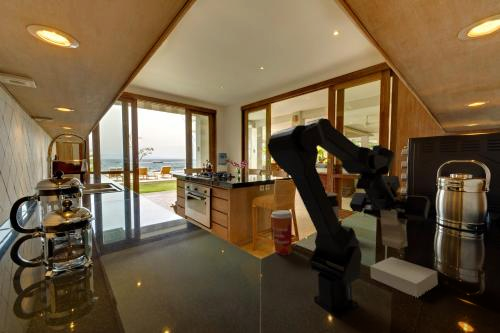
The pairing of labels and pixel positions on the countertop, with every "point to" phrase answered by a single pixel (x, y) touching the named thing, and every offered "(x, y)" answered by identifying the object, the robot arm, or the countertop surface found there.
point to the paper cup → (282, 231)
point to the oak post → (393, 229)
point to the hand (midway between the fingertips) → (395, 221)
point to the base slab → (404, 276)
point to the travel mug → (334, 203)
